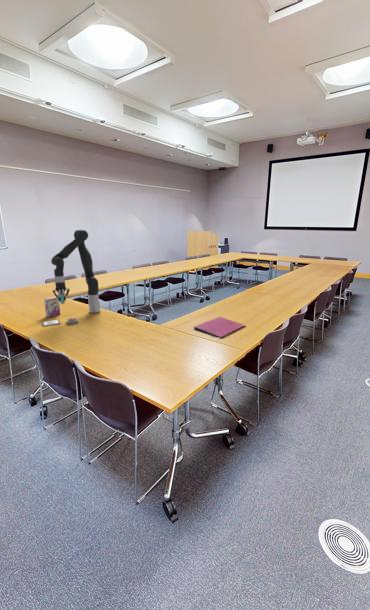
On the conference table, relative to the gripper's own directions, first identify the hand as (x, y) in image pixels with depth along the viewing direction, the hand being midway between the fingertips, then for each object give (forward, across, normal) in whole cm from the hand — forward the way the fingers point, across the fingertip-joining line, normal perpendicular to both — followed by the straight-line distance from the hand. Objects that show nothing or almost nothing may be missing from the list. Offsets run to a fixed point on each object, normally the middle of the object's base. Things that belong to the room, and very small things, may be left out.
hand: (62, 300), depth 245 cm
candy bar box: (+17, +7, -16) cm, 24 cm away
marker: (+2, 0, 0) cm, 2 cm away
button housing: (+17, -5, +11) cm, 21 cm away
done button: (+15, -5, +11) cm, 20 cm away
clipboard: (+17, +11, +5) cm, 21 cm away
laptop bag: (+19, -107, +79) cm, 135 cm away
